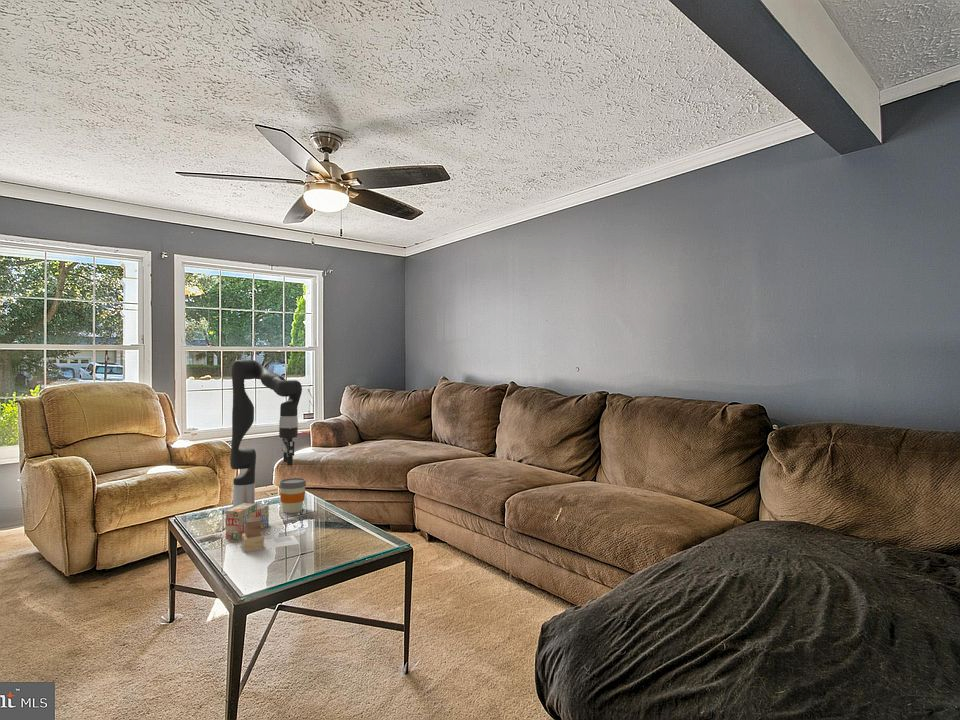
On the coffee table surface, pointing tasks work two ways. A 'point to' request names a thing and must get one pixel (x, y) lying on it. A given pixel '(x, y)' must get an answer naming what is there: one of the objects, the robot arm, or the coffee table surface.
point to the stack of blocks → (244, 518)
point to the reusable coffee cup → (292, 494)
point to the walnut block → (253, 527)
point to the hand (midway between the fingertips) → (287, 463)
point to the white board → (274, 543)
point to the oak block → (252, 543)
